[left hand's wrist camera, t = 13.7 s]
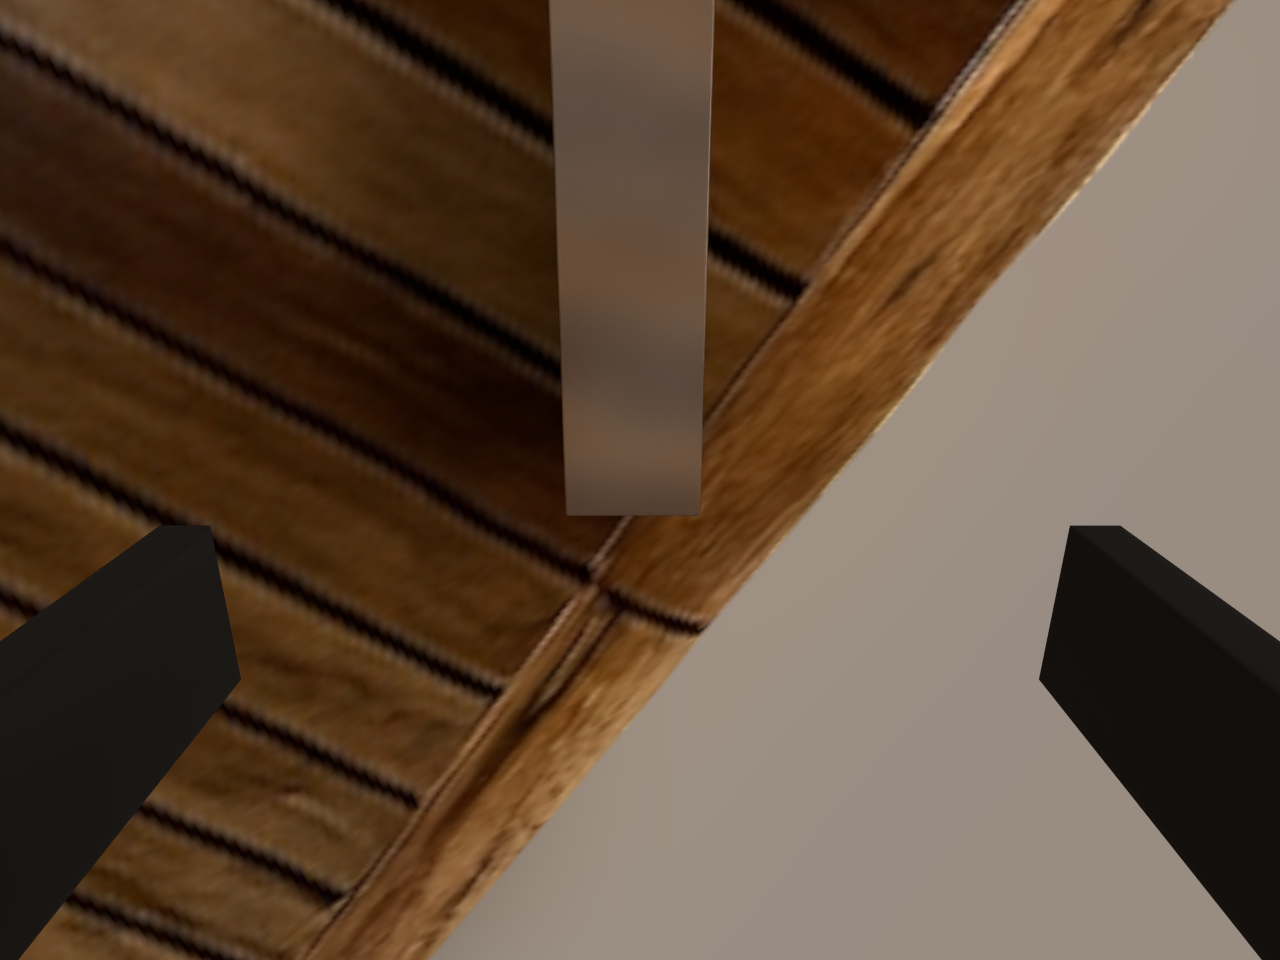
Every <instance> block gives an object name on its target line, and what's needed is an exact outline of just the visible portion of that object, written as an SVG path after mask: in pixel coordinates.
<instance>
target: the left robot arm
mask: <svg viewBox="0 0 1280 960" xmlns="http://www.w3.org/2000/svg"><path fill="white" fill-rule="evenodd" d="M240 680H241V677H240V672H239V667H238V662H237V657H236V652H235V647H234V642H233V637H232V632H231V627H230V622H229V618H228V613H227V608H226V603H225V598H224V593H223V588H222V583H221V578H220V573H219V568H218V563H217V558H216V553H215V548H214V543H213V538H212V533H211V528H210V526H159V527H157V528H156V529H154V530H153V531H152V532H150V533H149V534H148V535H146V536H145V537H143V538H142V539H141V540H139V541H138V542H137V543H135V544H134V545H132V546H131V547H130V548H128V549H127V550H126V551H124V552H123V553H121V554H120V555H119V556H117V557H116V558H115V559H113V560H112V561H110V562H109V563H108V564H106V565H105V566H103V567H102V568H101V569H99V570H98V571H97V572H95V573H94V574H92V575H91V576H90V577H88V578H87V579H86V580H84V581H83V582H81V583H80V584H79V585H77V586H76V587H75V588H73V589H72V590H70V591H69V592H68V593H66V594H65V595H64V596H62V597H61V598H59V599H58V600H57V601H55V602H54V603H53V604H51V605H50V606H48V607H47V608H46V609H44V610H43V611H41V612H40V613H39V614H37V615H36V616H35V617H33V618H32V619H30V620H29V621H28V622H26V623H25V624H24V625H22V626H21V627H19V628H18V629H17V630H15V631H14V632H13V633H11V634H10V635H8V636H7V637H6V638H4V639H3V640H2V641H0V960H18V959H19V958H20V957H21V956H22V954H23V953H24V952H25V951H26V949H27V948H28V947H29V946H30V944H31V943H32V942H33V941H34V939H35V938H36V937H37V936H38V934H39V933H40V932H41V931H42V929H43V928H44V927H45V925H46V924H47V923H48V922H49V920H50V919H51V918H52V917H53V915H54V914H55V913H56V912H57V910H58V909H59V908H60V907H61V905H62V904H63V903H64V902H65V900H66V899H67V898H68V897H69V895H70V894H71V893H72V892H73V890H74V889H75V888H76V886H77V885H78V884H79V883H80V881H81V880H82V879H83V878H84V876H85V875H86V874H87V873H88V871H89V870H90V869H91V868H92V866H93V865H94V864H95V863H96V861H97V860H98V859H99V858H100V856H101V855H102V854H103V852H104V851H105V850H106V849H107V847H108V846H109V845H110V844H111V842H112V841H113V840H114V839H115V837H116V836H117V835H118V834H119V832H120V831H121V830H122V829H123V827H124V826H125V825H126V824H127V822H128V821H129V820H130V818H131V817H132V816H133V815H134V813H135V812H136V811H137V810H138V808H139V807H140V806H141V805H142V803H143V802H144V801H145V800H146V798H147V797H148V796H149V795H150V793H151V792H152V791H153V790H154V788H155V787H156V786H157V785H158V783H159V782H160V781H161V779H162V778H163V777H164V776H165V774H166V773H167V772H168V771H169V769H170V768H171V767H172V766H173V764H174V763H175V762H176V761H177V759H178V758H179V757H180V756H181V754H182V753H183V752H184V751H185V749H186V748H187V747H188V745H189V744H190V743H191V742H192V740H193V739H194V738H195V737H196V735H197V734H198V733H199V732H200V730H201V729H202V728H203V727H204V725H205V724H206V723H207V722H208V720H209V719H210V718H211V717H212V715H213V714H214V713H215V712H216V710H217V709H218V708H219V706H220V705H221V704H222V703H223V701H224V700H225V699H226V698H227V696H228V695H229V694H230V693H231V691H232V690H233V689H234V688H235V686H236V685H237V684H238V683H239V681H240ZM1039 680H1040V681H1041V683H1042V684H1043V685H1044V686H1045V688H1046V689H1047V690H1048V691H1049V693H1050V694H1051V695H1052V696H1053V698H1054V699H1055V700H1056V701H1057V703H1058V704H1059V705H1060V706H1061V708H1062V709H1063V710H1064V712H1065V713H1066V714H1067V715H1068V717H1069V718H1070V719H1071V720H1072V722H1073V723H1074V724H1075V725H1076V727H1077V728H1078V729H1079V730H1080V732H1081V733H1082V734H1083V735H1084V737H1085V738H1086V739H1087V740H1088V742H1089V743H1090V744H1091V745H1092V747H1093V748H1094V749H1095V751H1096V752H1097V753H1098V754H1099V756H1100V757H1101V758H1102V759H1103V761H1104V762H1105V763H1106V764H1107V766H1108V767H1109V768H1110V769H1111V771H1112V772H1113V773H1114V774H1115V776H1116V777H1117V778H1118V779H1119V781H1120V782H1121V783H1122V784H1123V786H1124V787H1125V788H1126V789H1127V791H1128V792H1129V793H1130V795H1131V796H1132V797H1133V798H1134V800H1135V801H1136V802H1137V803H1138V805H1139V806H1140V807H1141V808H1142V810H1143V811H1144V812H1145V813H1146V815H1147V816H1148V817H1149V818H1150V820H1151V821H1152V822H1153V824H1154V825H1155V826H1156V827H1157V829H1158V830H1159V831H1160V832H1161V834H1162V835H1163V836H1164V837H1165V839H1166V840H1167V841H1168V842H1169V844H1170V845H1171V846H1172V847H1173V849H1174V850H1175V851H1176V852H1177V854H1178V855H1179V856H1180V858H1181V859H1182V860H1183V861H1184V863H1185V864H1186V865H1187V866H1188V868H1189V869H1190V870H1191V871H1192V873H1193V874H1194V875H1195V876H1196V878H1197V879H1198V880H1199V881H1200V883H1201V884H1202V885H1203V886H1204V888H1205V889H1206V890H1207V892H1208V893H1209V894H1210V895H1211V896H1212V898H1213V899H1214V900H1215V902H1216V903H1217V904H1218V905H1219V907H1220V908H1221V909H1222V910H1223V912H1224V913H1225V914H1226V915H1227V917H1228V918H1229V919H1230V920H1231V922H1232V923H1233V924H1234V925H1235V927H1236V928H1237V929H1238V930H1239V932H1240V933H1241V934H1242V936H1243V937H1244V938H1245V939H1246V941H1247V942H1248V943H1249V944H1250V946H1251V947H1252V948H1253V949H1254V951H1255V952H1256V953H1257V954H1258V956H1259V957H1260V958H1261V959H1262V960H1280V641H1278V640H1277V639H1276V638H1274V637H1273V636H1272V635H1270V634H1269V633H1267V632H1266V631H1265V630H1263V629H1262V628H1261V627H1259V626H1258V625H1256V624H1255V623H1254V622H1252V621H1251V620H1249V619H1248V618H1247V617H1245V616H1244V615H1243V614H1241V613H1240V612H1239V611H1237V610H1236V609H1234V608H1233V607H1232V606H1230V605H1229V604H1227V603H1226V602H1225V601H1223V600H1222V599H1221V598H1219V597H1218V596H1216V595H1215V594H1214V593H1212V592H1211V591H1210V590H1208V589H1207V588H1205V587H1204V586H1203V585H1201V584H1200V583H1199V582H1197V581H1196V580H1194V579H1193V578H1192V577H1190V576H1189V575H1187V574H1186V573H1185V572H1183V571H1182V570H1181V569H1179V568H1178V567H1177V566H1175V565H1174V564H1172V563H1171V562H1170V561H1168V560H1167V559H1165V558H1164V557H1163V556H1161V555H1160V554H1158V553H1157V552H1156V551H1154V550H1153V549H1152V548H1150V547H1149V546H1148V545H1146V544H1145V543H1143V542H1142V541H1141V540H1139V539H1138V538H1137V537H1135V536H1134V535H1132V534H1131V533H1130V532H1128V531H1127V530H1125V529H1124V528H1123V527H1121V526H1070V528H1069V533H1068V538H1067V543H1066V548H1065V553H1064V558H1063V563H1062V568H1061V573H1060V578H1059V583H1058V588H1057V593H1056V598H1055V603H1054V608H1053V613H1052V618H1051V623H1050V627H1049V633H1048V638H1047V642H1046V647H1045V652H1044V657H1043V662H1042V667H1041V672H1040V677H1039Z"/></svg>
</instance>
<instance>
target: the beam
mask: <svg viewBox="0 0 1280 960" xmlns="http://www.w3.org/2000/svg"><path fill="white" fill-rule="evenodd" d="M548 6H549V36H550V66H551V96H552V125H553V155H554V185H555V215H556V244H557V274H558V304H559V334H560V364H561V393H562V423H563V453H564V483H565V512H566V515H567V516H699V515H700V502H701V468H702V433H703V399H704V364H705V330H706V295H707V261H708V226H709V192H710V157H711V123H712V88H713V54H714V20H715V0H548Z"/></svg>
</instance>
